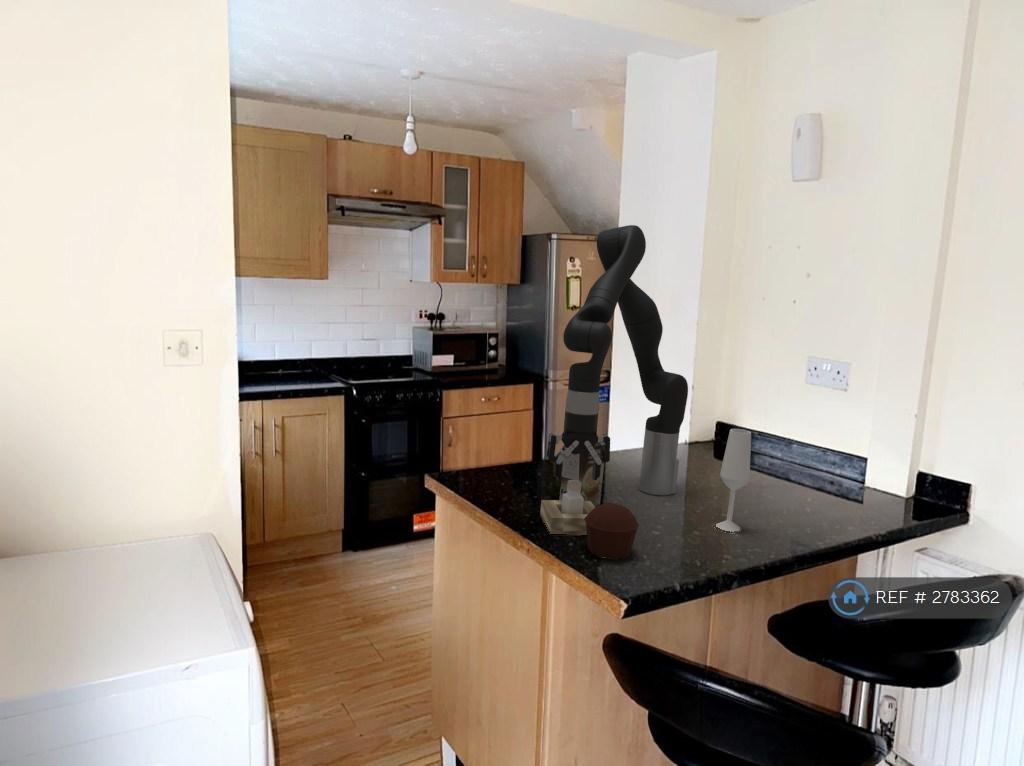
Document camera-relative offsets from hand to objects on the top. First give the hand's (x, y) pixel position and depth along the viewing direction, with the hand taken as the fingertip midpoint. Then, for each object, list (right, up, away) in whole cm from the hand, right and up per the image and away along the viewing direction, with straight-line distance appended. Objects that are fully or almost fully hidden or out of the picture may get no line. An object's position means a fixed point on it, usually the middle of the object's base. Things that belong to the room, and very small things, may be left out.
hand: (576, 479), depth 159 cm
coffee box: (+2, -9, +17) cm, 20 cm away
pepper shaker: (-1, -10, +2) cm, 10 cm away
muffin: (+6, -14, -12) cm, 19 cm away
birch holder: (-1, -11, +2) cm, 11 cm away
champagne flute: (+37, -13, +8) cm, 40 cm away
